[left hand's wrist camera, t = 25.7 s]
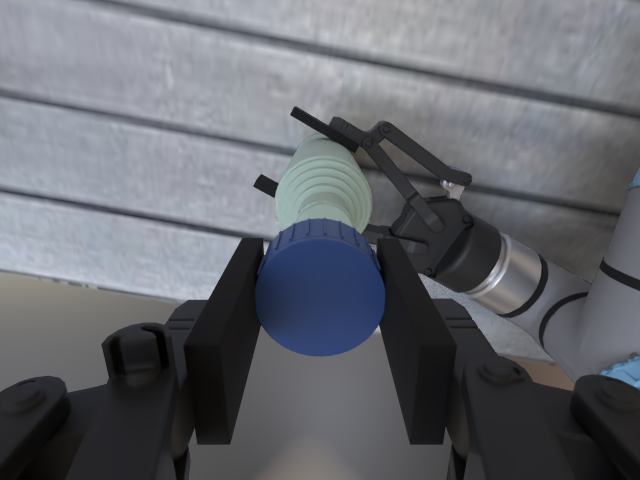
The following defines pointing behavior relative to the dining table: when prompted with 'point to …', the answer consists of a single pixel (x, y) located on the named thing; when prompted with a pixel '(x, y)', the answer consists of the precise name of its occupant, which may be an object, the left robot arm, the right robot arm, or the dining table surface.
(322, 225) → the cap
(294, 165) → the bottle
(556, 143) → the dining table surface
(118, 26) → the dining table surface
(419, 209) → the right robot arm
